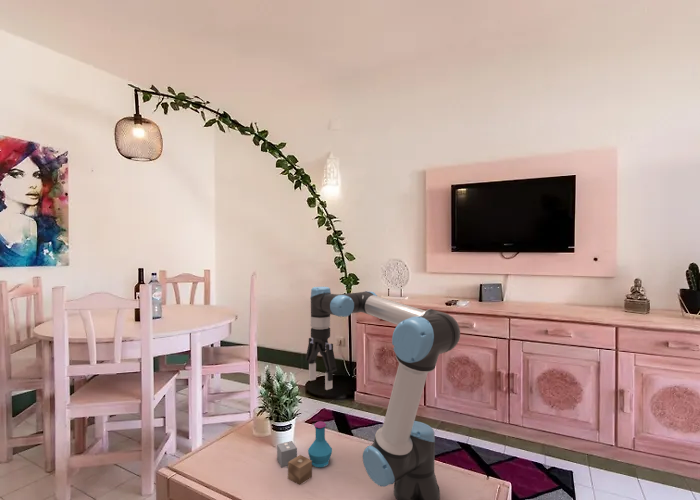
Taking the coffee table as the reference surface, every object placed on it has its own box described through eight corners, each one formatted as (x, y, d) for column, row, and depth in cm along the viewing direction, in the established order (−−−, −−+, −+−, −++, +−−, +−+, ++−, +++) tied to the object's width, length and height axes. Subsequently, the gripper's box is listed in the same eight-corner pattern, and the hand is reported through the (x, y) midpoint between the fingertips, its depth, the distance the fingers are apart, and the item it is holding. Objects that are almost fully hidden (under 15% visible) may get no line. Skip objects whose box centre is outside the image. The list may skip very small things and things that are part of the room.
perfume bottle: (333, 456, 149) (333, 418, 149) (330, 470, 139) (330, 429, 139) (310, 455, 150) (310, 417, 149) (305, 468, 140) (305, 428, 140)
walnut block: (311, 477, 135) (311, 460, 135) (299, 485, 131) (299, 467, 130) (300, 471, 139) (300, 454, 139) (287, 478, 134) (288, 461, 134)
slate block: (296, 463, 144) (296, 447, 144) (281, 467, 141) (281, 451, 141) (291, 455, 149) (292, 440, 149) (277, 459, 146) (277, 443, 146)
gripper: (346, 331, 137) (346, 391, 137) (313, 321, 156) (312, 374, 156) (329, 334, 133) (329, 396, 133) (297, 323, 152) (296, 377, 152)
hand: (320, 384), depth 145 cm, fingers open, 11 cm apart
